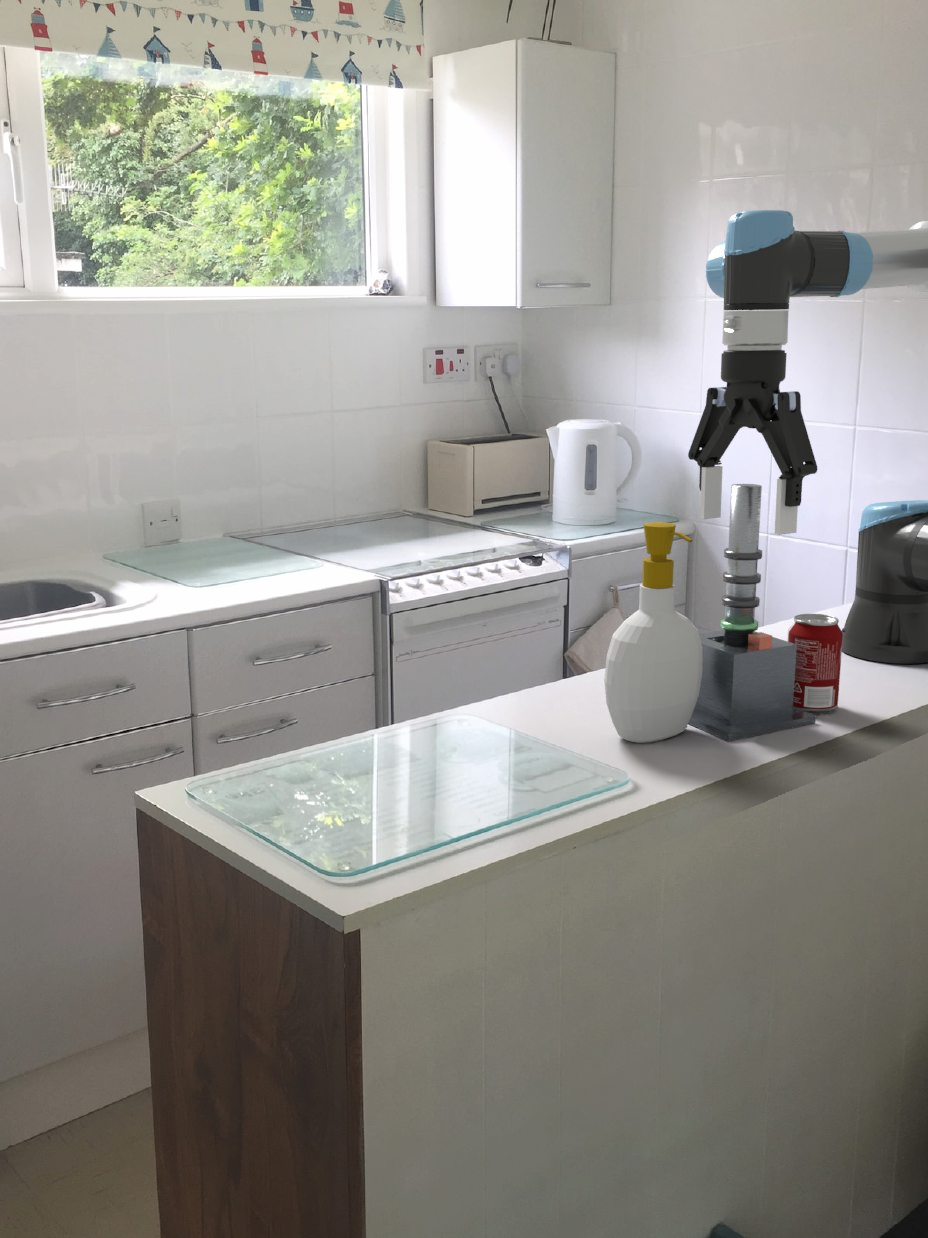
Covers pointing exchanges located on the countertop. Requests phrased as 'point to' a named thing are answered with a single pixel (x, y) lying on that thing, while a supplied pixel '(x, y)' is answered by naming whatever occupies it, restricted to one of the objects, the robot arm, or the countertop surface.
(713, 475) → the robot arm
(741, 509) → the column
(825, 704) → the soda can
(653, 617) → the soap bottle
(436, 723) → the countertop surface
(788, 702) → the sleeve
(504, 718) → the countertop surface
